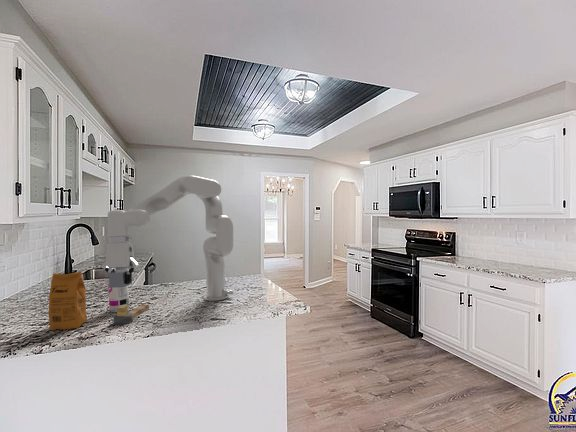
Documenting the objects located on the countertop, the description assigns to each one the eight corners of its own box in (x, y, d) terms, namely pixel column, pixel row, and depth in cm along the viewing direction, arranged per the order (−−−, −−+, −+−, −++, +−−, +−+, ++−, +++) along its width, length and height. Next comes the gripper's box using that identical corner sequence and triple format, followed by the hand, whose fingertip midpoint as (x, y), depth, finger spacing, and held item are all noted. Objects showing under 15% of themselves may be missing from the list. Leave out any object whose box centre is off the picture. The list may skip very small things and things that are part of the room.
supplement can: (109, 313, 142) (107, 281, 142) (110, 309, 149) (108, 277, 149) (129, 310, 146) (127, 278, 145) (129, 306, 153) (127, 275, 153)
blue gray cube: (132, 283, 133) (131, 269, 133) (123, 287, 127) (122, 272, 127) (118, 283, 133) (117, 269, 133) (109, 287, 127) (108, 272, 127)
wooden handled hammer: (138, 308, 148) (137, 295, 148) (152, 308, 147) (151, 294, 147) (109, 325, 127) (109, 309, 127) (126, 325, 127) (125, 309, 127)
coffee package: (60, 322, 133) (57, 271, 132) (91, 320, 134) (88, 269, 133) (44, 332, 123) (40, 276, 122) (77, 329, 124) (74, 274, 123)
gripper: (144, 238, 133) (145, 281, 133) (105, 239, 134) (107, 281, 134) (133, 240, 125) (135, 285, 126) (93, 241, 127) (94, 285, 127)
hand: (120, 283), depth 130 cm, fingers closed on blue gray cube, 6 cm apart
